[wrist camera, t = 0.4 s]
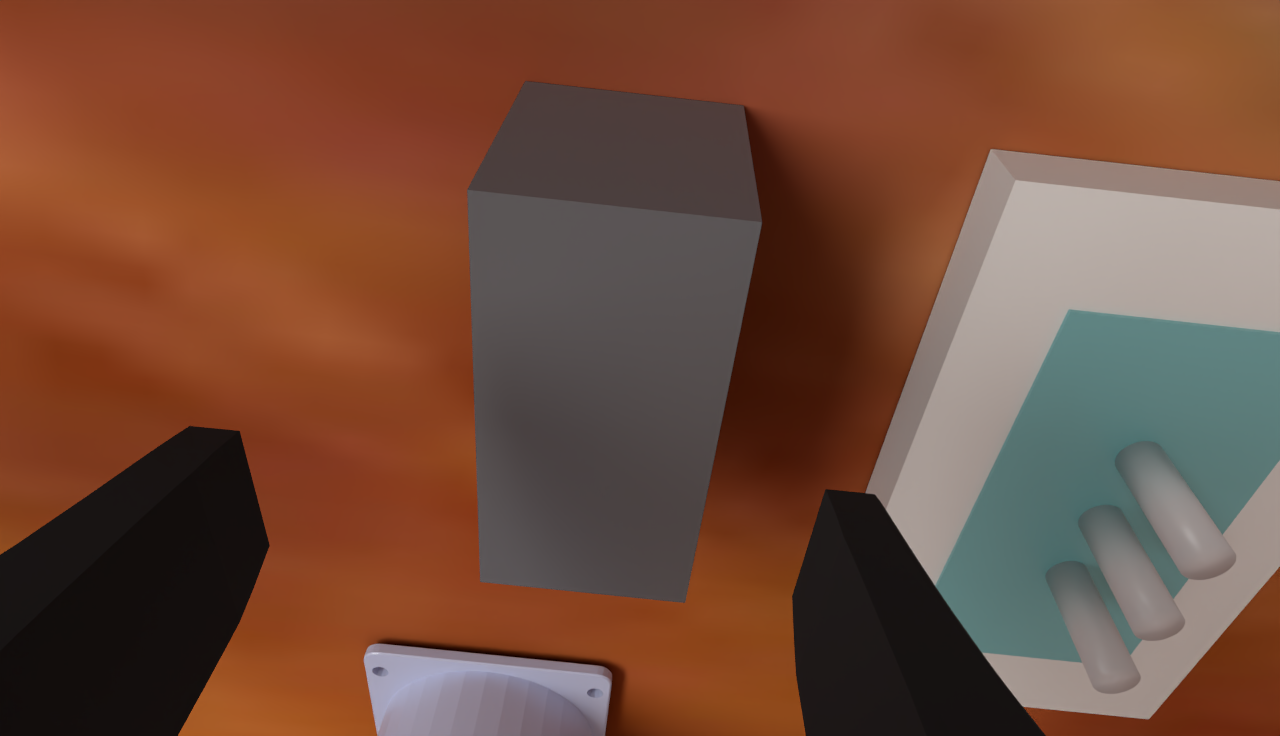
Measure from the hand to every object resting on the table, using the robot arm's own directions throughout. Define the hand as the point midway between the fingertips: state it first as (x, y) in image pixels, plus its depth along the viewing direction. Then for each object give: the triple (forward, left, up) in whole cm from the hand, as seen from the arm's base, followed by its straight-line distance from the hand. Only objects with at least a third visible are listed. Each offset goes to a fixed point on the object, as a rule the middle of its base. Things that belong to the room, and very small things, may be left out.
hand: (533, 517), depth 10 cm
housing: (-2, -1, -9) cm, 9 cm away
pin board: (-6, -13, -9) cm, 16 cm away
